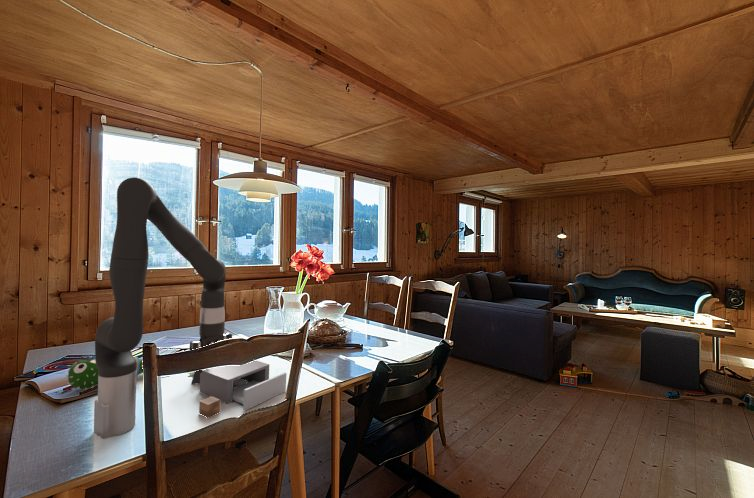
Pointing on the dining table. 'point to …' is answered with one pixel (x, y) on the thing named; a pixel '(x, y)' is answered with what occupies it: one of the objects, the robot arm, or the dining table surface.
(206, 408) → the walnut block
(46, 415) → the dining table surface
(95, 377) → the toy
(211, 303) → the robot arm
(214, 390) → the grey drawer cabinet
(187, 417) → the dining table surface
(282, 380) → the grey drawer
